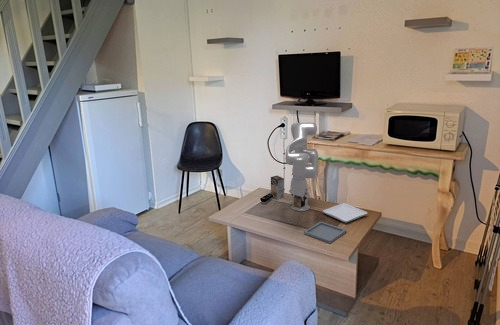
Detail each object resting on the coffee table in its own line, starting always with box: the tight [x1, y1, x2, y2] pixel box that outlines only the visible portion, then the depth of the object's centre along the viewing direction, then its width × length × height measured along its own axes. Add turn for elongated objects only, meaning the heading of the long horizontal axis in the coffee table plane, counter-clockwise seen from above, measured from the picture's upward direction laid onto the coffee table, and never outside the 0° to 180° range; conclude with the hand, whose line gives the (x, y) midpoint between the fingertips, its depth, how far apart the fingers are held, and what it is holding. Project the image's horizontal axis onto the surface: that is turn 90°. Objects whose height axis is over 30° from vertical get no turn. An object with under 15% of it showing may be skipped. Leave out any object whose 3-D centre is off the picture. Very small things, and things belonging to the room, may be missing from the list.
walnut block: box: [292, 196, 304, 208], centre depth 218 cm, size 5×5×6 cm
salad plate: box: [322, 202, 368, 223], centre depth 238 cm, size 21×21×3 cm
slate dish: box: [303, 221, 347, 245], centre depth 214 cm, size 18×18×2 cm
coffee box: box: [270, 175, 285, 201], centre depth 271 cm, size 9×6×16 cm
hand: (299, 204), depth 219 cm, fingers closed on walnut block, 5 cm apart
